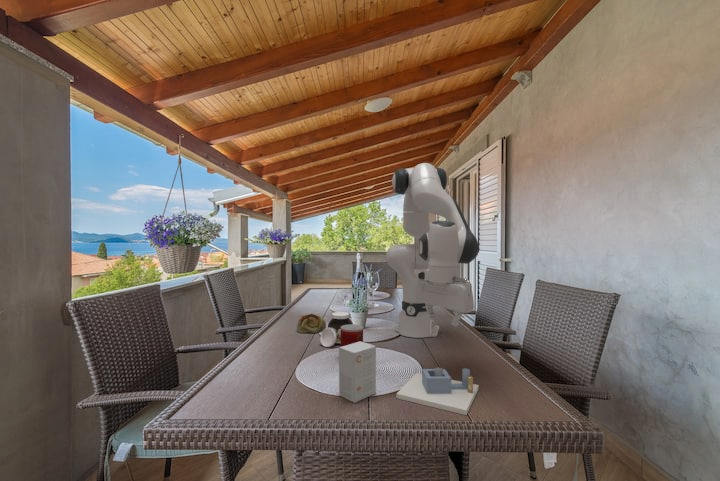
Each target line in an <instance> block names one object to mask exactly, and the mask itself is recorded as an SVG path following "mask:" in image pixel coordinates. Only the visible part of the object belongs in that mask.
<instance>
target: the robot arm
mask: <svg viewBox="0 0 720 481" xmlns="http://www.w3.org/2000/svg"><path fill="white" fill-rule="evenodd" d="M391 181H392V182H391V183H392V184H391V185H392V187H393V191H394V193H395V194H398V195H403V196H404V198H403V206H402V207H403V209H402V220H403V221H402V228H403V231H404V232H405V233H406V234H407V235H409V236H411V237H412V238H415V239H416V240H417V243H399V244H393V245H390V246H389V248H388V249H387V251H386V254H385V258H386V259H385V260H386V262H387V264H388V265H389V267H391V268H392V269H393V270H394V271H395V272H396V274H397V275H398V277H399V278H400V281H401V286H402V300H401V311H399V313H398V321H397V327H395V332H397V333H398V334H399V335H400V336H404V337H407V338H414V339H415V338H416V339H417V338H419V339H420V338H421V339H423V338H430V337H431V338H432V337H433V338H435V337H438V334H439V331H440V325H437V324H435V320H436V317H437V316H436V315H437V314H436V313H435V312H434V309H433V308H434V306H435V307H437V308H441V309H446V310H450V311H453V315H454V317H453V318H452V319H450V322H451V323H450V325H451V326H452V327H459V326H460V320H461V318H462V316H463V314H468V313H472V311H473V310H474V308H475V306H474V305H475V304H474V296H473V295H474V294H473V290H472V289H473V286H472V283H471V282H470V281H469V279H468V278H461V277H460V276H459V274H460V264H465V265H468V264H469V263H471V262H473V261H474V260H475V259H476V258H477V256H478V254H479V242H478V239H477V237H476V236H475V235H474V233H473V232H472V230H471V229H470V227H469V224H468V222H467V220H466V218H465V216H464V214H463V211H462V210H461V208H460V206H459V204H458V202H457V200H456V199H455V198H454V197H453V196H451V195H450V194H448V192H446V189H447V185H448V175H447V172H446V170H445V169H444V168H442V167H435V166H434V165H433V164H431V163H428V162H422V163H419V164H417V165H415V166H414V167H409V168H405V167H403V168H399V169H396V170H395V171H394V172H393V176H392V180H391ZM430 214H433V215H437V216H439V217H442V218H444V219H445V220H434V221H432V222H431V223H430ZM415 270H420V271H418V272H416V273H415ZM421 270H422V271H421Z"/></svg>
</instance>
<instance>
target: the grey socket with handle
mask: <svg viewBox="0 0 720 481" xmlns="http://www.w3.org/2000/svg"><path fill="white" fill-rule="evenodd" d="M442 369H443V376H435V368H422V369H421V374H422V384H423V386H424V388H425V390H426V392H427V394H429V393H451V389H467V384H468V376H471V369H470V368H465V367H463V368H462V370H461V372H462V373H461V378H462V380H461V382H462V384H451V380H452V377H451V375H450V374H449V373H448V371H447V370H446V369H445V368H442Z"/></svg>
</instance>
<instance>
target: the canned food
mask: <svg viewBox="0 0 720 481" xmlns="http://www.w3.org/2000/svg"><path fill="white" fill-rule="evenodd" d="M360 341H361V342H364V326H363V325H359V324H354V323H353V324H348V325H343V326H341V332H340V346H339V347H342V346H346V345H349V344H353V343H356V342H360Z"/></svg>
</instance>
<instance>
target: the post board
mask: <svg viewBox="0 0 720 481" xmlns="http://www.w3.org/2000/svg"><path fill="white" fill-rule="evenodd" d="M434 369H435V376H443V369H444V368H442V367H438V366H437V367H435V368H434ZM451 384H462V380H461V381H460V380H456V379H455V380H454V379H451ZM478 392H479V384H475V383H473V393H468V392H467V389H451V393H429V394H427V392H426V390H425V388H424V386H423V384H422V372H421V373H420V372H416V373H415V374H414V375H413V376H412V377H411V378H410V379H409V380H408V381H407V382H406V383H405V384H404V385H403V386H402V387H401V388H400V389H399V390H398V391H397V392H396V399H398V400H402V401H407V402H410V403H414V404H419V405H423V406H426V407H429V408H430V407H431V408H434V409H435V408H436V409H440V410H443V411H447V412H451V413H456V414H460V415H464V416H467V415H468V413H469V411H470V408H471V406H472V404H473V403H474V400H475V398H476V396H477V393H478Z"/></svg>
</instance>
